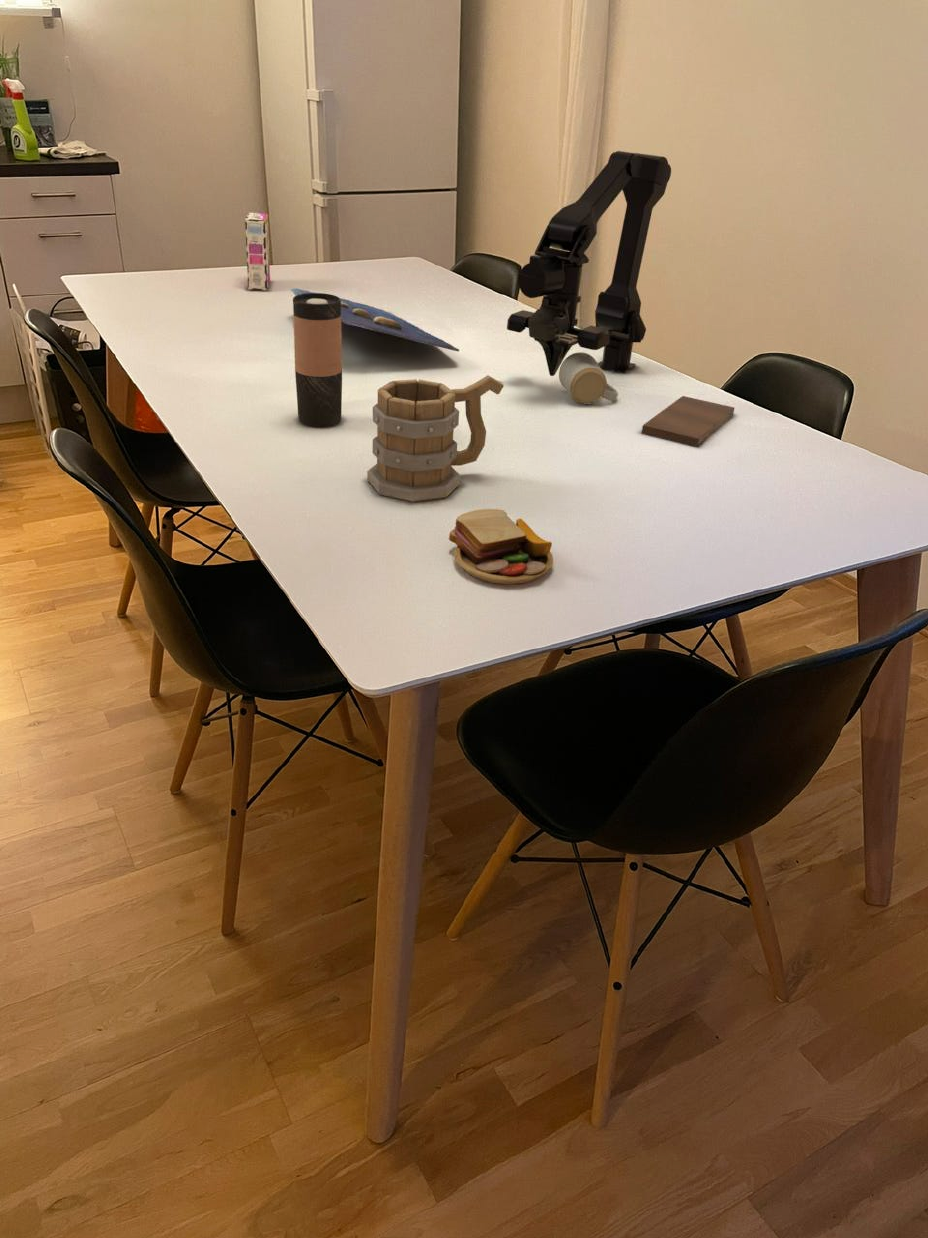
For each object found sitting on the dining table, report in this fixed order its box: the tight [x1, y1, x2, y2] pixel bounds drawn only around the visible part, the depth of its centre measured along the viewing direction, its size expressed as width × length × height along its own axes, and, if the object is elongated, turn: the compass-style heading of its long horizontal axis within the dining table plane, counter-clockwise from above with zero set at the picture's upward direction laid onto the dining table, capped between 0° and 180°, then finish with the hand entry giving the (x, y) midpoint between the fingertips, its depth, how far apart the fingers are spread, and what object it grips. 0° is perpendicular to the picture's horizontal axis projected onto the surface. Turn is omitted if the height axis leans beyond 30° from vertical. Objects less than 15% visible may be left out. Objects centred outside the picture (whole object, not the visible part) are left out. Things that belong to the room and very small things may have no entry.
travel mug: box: [292, 292, 343, 429], centre depth 155 cm, size 8×8×20 cm
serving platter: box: [290, 287, 460, 352], centre depth 202 cm, size 45×27×12 cm, turn 25°
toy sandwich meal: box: [448, 508, 554, 585], centre depth 120 cm, size 12×14×5 cm
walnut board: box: [641, 395, 735, 448], centre depth 169 cm, size 20×10×2 cm, turn 149°
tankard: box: [366, 375, 505, 503], centre depth 138 cm, size 20×13×15 cm, turn 114°
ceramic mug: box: [558, 351, 619, 405], centre depth 176 cm, size 11×8×8 cm
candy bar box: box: [244, 212, 271, 292], centre depth 235 cm, size 11×5×16 cm, turn 6°
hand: (552, 375), depth 180 cm, fingers closed
